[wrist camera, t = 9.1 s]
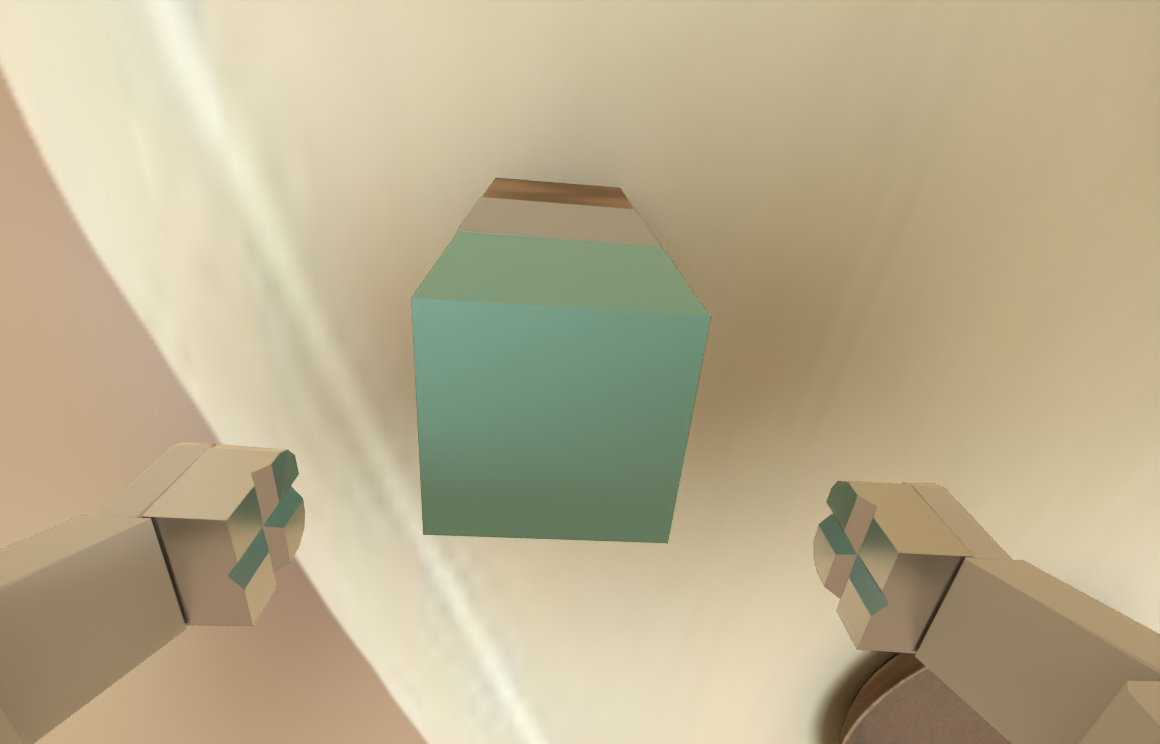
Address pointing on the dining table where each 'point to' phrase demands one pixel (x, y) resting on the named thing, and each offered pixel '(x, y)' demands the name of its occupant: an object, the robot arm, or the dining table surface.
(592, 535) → the teal cube
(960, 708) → the plant saucer
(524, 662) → the dining table surface
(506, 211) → the grey mid block
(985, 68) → the dining table surface
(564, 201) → the walnut base block
